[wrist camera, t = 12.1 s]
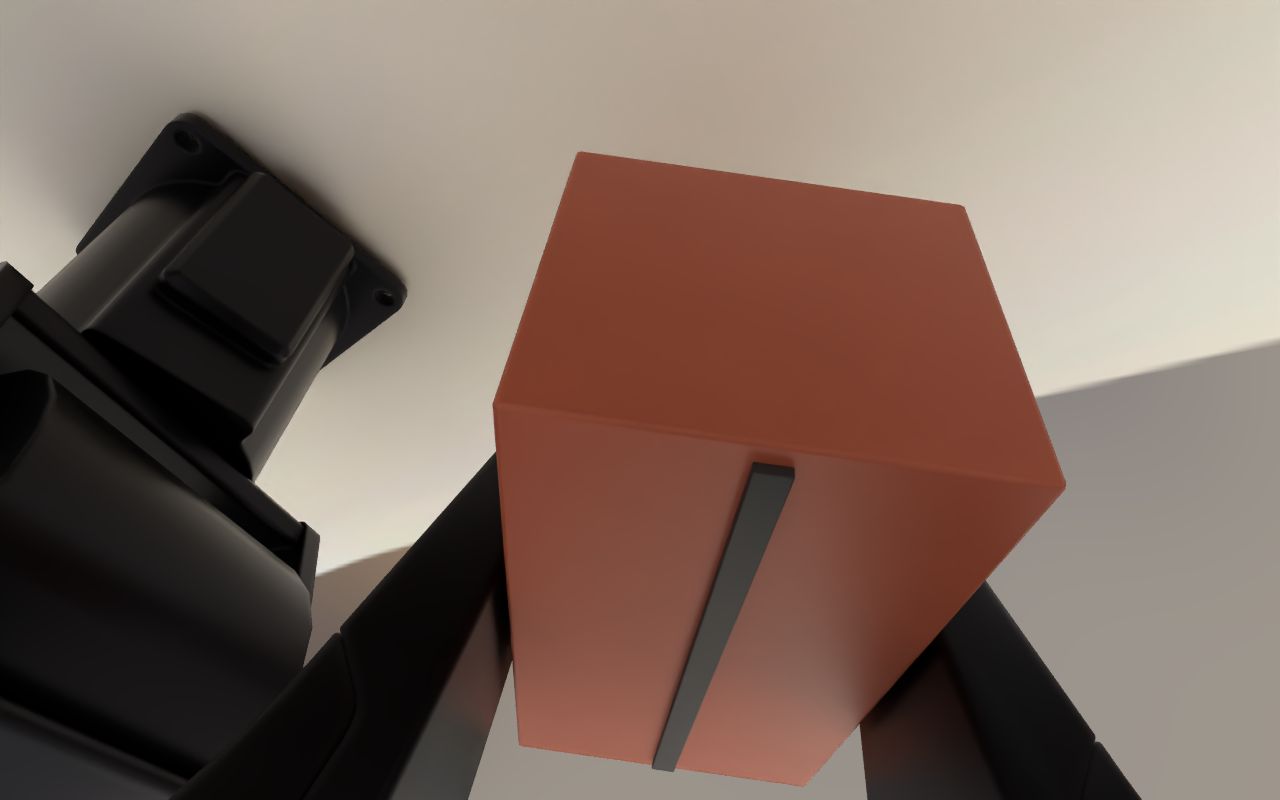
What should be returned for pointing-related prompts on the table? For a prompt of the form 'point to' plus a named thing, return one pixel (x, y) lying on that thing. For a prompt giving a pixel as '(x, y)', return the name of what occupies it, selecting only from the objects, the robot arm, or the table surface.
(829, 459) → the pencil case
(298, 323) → the robot arm
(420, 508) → the table surface
